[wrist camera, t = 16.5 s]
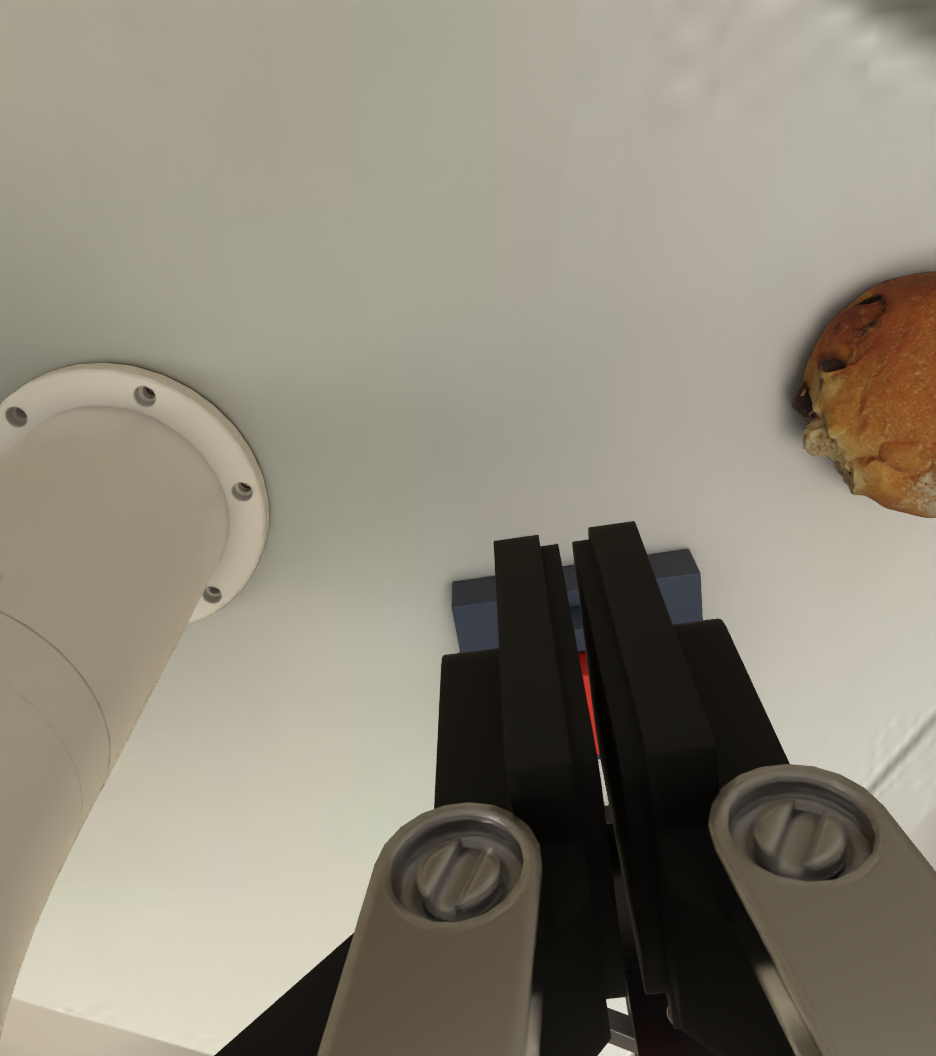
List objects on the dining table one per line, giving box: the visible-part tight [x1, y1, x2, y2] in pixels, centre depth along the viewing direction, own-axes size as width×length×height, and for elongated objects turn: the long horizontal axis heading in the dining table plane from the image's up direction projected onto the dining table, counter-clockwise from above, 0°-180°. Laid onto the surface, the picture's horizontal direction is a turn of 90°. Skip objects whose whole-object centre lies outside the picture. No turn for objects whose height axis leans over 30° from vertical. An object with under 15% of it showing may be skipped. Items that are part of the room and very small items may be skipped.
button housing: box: [452, 550, 703, 759], centre depth 42 cm, size 11×9×4 cm
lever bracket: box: [604, 806, 717, 1056], centre depth 44 cm, size 11×9×13 cm
